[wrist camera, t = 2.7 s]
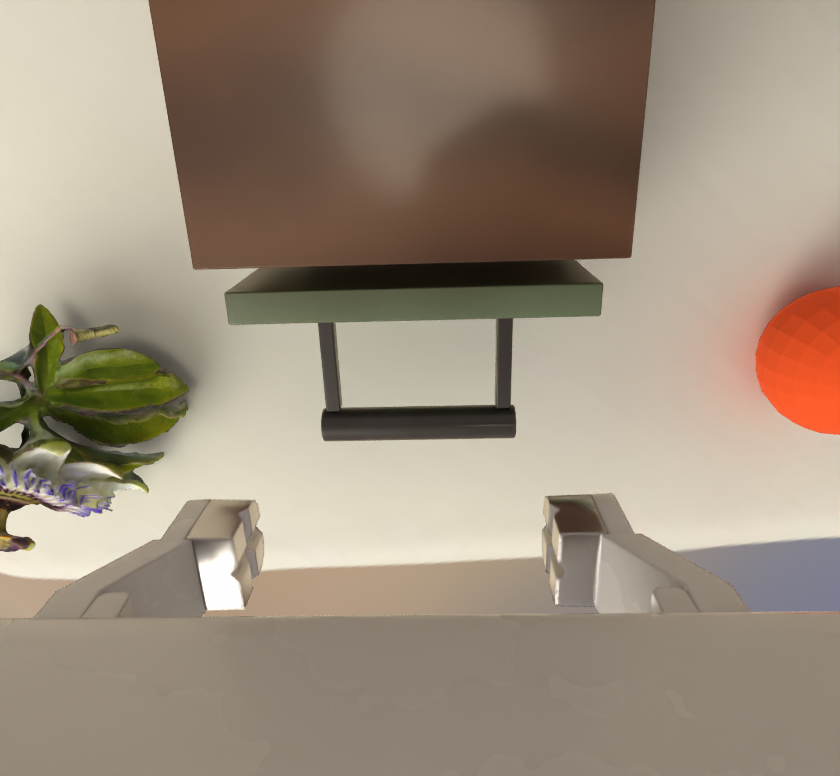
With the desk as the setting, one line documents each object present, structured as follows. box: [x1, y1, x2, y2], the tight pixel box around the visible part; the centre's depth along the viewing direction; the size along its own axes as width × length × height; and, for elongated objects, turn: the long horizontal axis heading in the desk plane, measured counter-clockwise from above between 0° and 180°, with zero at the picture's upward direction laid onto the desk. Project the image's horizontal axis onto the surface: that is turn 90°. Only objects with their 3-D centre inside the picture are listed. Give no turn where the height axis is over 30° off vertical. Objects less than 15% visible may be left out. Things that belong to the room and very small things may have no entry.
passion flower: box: [0, 305, 189, 552], centre depth 31 cm, size 11×11×12 cm
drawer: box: [224, 260, 603, 441], centre depth 24 cm, size 23×13×9 cm, turn 2°
